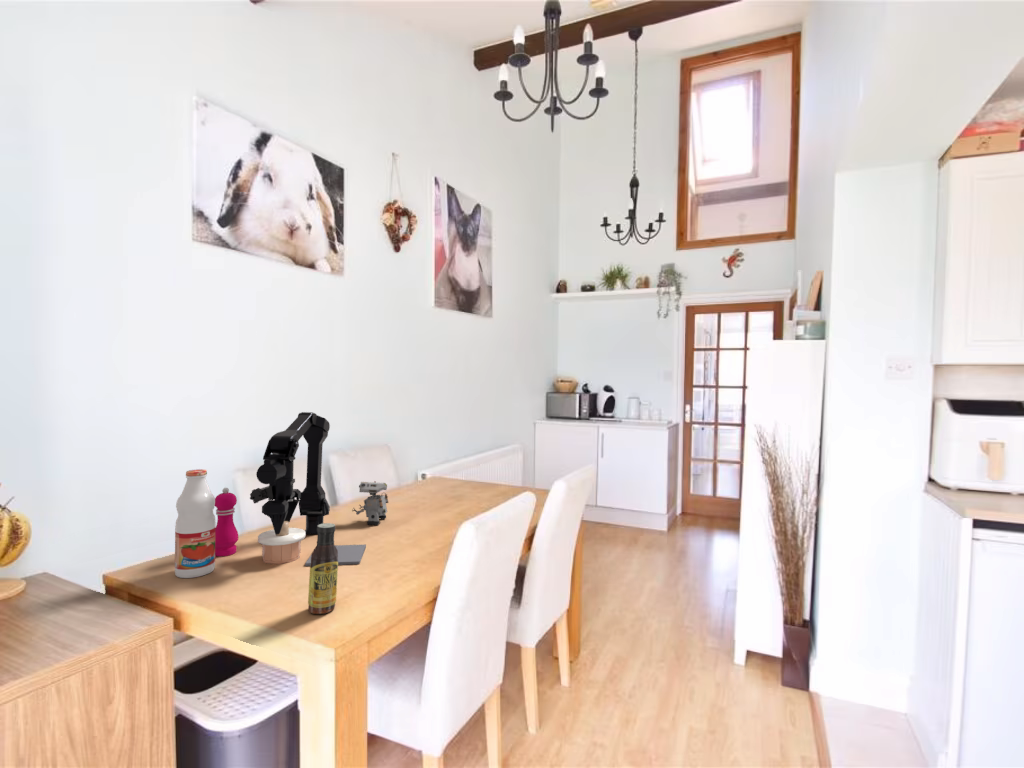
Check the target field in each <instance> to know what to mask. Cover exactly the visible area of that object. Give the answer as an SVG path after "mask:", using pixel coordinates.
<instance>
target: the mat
mask: <svg viewBox="0 0 1024 768" xmlns="http://www.w3.org/2000/svg"><path fill="white" fill-rule="evenodd" d="M334 545H335V544H334ZM335 547H336V548H337V550H338V566H341V565H345V566H347V565H349V566H350V565H361V561H362V559H363V557H364V554H365V551H366V548H367V544H342V545H341V544H339V545H337V544H336V545H335ZM311 555H312V553H311V554H310V556H309V557H308V559H307V560H306V562H305V567H310V565H311Z"/></svg>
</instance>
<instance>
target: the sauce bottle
mask: <svg viewBox="0 0 1024 768" xmlns="http://www.w3.org/2000/svg"><path fill="white" fill-rule="evenodd" d="M335 531H336V524H335V523H333V522H332V523H331V522H329V523H328V522H326V523H324V522H323V524H319V525H318V526H317V533H318V534H317V535H316V537H317V539H316V540H317V541H316V546H315V547H314V549H313V551H312V553H311V554H312V555H311V554H310V556H311V565H310V566H309V579H308V580H309V581H308V594H307V595H308V599H307V605H308V612H309V613H310V614H313V615H325V614H328V613H330V612H332V611H334V610H335V607H336V602H337V595H338V594H337V592H338V591H337V590H338V576H339V575H338V574H339V573H338V570H339V565H338V550H337V548H336V547H335Z"/></svg>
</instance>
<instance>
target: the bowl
mask: <svg viewBox="0 0 1024 768" xmlns="http://www.w3.org/2000/svg"><path fill="white" fill-rule="evenodd" d="M301 543H302V540H301V541H298V542H295V543H291V544H286V545H275V546H271V545H263V544H261V546H262V548H261V549H262V551H261V558H262V561H263V563H265V564H267V565H281V564H288V563H292V562H294V561H297V560H298V559H300V556H301V553H302V552H301V550H302V548H301V547H302V545H301Z"/></svg>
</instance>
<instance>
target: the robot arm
mask: <svg viewBox="0 0 1024 768" xmlns="http://www.w3.org/2000/svg"><path fill="white" fill-rule="evenodd" d="M330 427H331V425H330V422H329V420H327V419H326V418H325V417H322V416H320V415H317V413H315V412H309V411H308V412H307V411H306V412H305V411H302V412H299V413H298V415H297V417H296V418H295V419H294V421H292V422H291V424H290V425H288V427H287V428H286V429H284V430H283V431H282V430H281V431H279V432H276V433H275V434H274V435H272V436H271V437H270V438H269V440H268V442H267V444H266V445H267V446H266V448H265V451H264V454H263V458H262V460H263V464H262V465H259V467H258V469H257V470H256V473H255V475H256V478H257V480H258V482H260V483H261V484H263V485H267V486H264V487H261V488H260V487H257V488H256V489H252V490H251V492H250V494H249V495H250V497H249V499H250V500H252V502H253V504H258V503H259V502H261V501H264V500H267V499H268V500H267V501H266V502H265V503H264V504H263V505H261V513H262V514H263V515H265V516H267V517H268V518H270V521H271V523H272V528H273V529H274V531H275V534H280V532H281V529H282V526H283V524H284V521H288V522H289V523H290V522H291V519H292V517H293V515H294V513H295V511H296V508H297V506H298V508H299V515H300V516H305V529H304V530H305V532H306V535H318V533H317V526H318V525H319V524H323V523H324V517H326V516H329V515H330V508H331V507H330V504H329V502H328V500H327V498H326V492H325V490H324V488H323V486H322V468H323V467H322V465H323V464H322V463H323V444H324V442H325V441H326V439H327V438H328V437H329V431H330ZM301 438H303V439H304V440H305V441H306V443H307V455H306V456H307V457H306V458H307V460H306V479H305V480H306V482H305V483H306V484H305V487H304V489H303V490H302V491H301V490H300V489H298V488H294V483H296V478H294V465H295V464H294V461H295V460H296V457H295V456H296V454H297V452H298V449H299V447H300V445H299V441H300V440H301ZM295 498H296V499H295Z"/></svg>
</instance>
